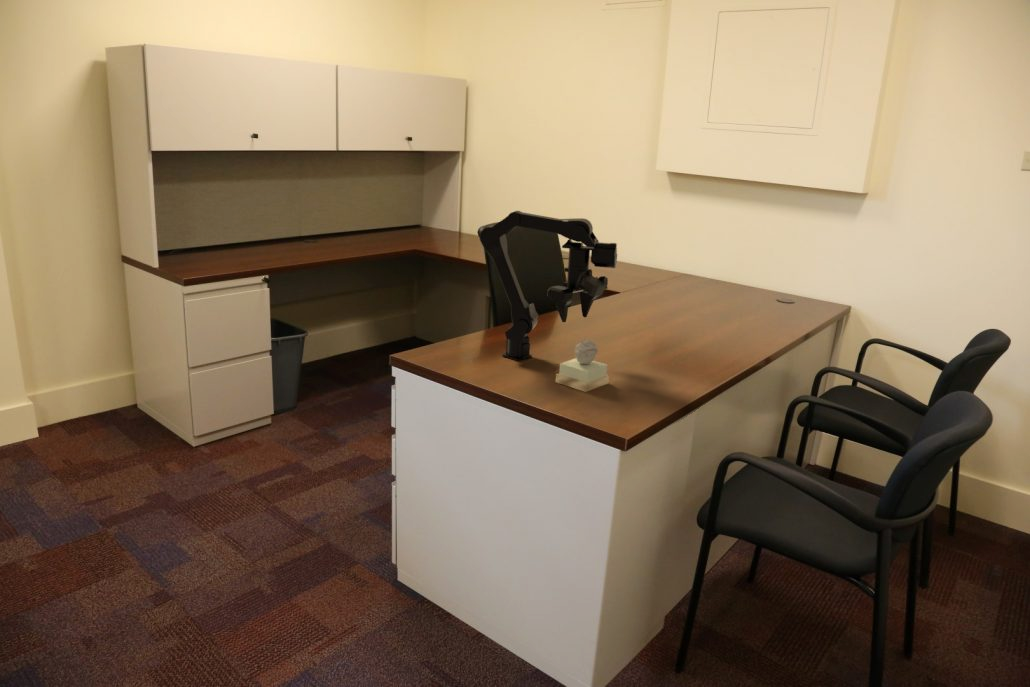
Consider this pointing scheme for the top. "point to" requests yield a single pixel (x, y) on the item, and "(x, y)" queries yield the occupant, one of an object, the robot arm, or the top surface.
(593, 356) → the frog figurine
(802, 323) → the top surface
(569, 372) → the upper block
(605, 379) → the lower block
